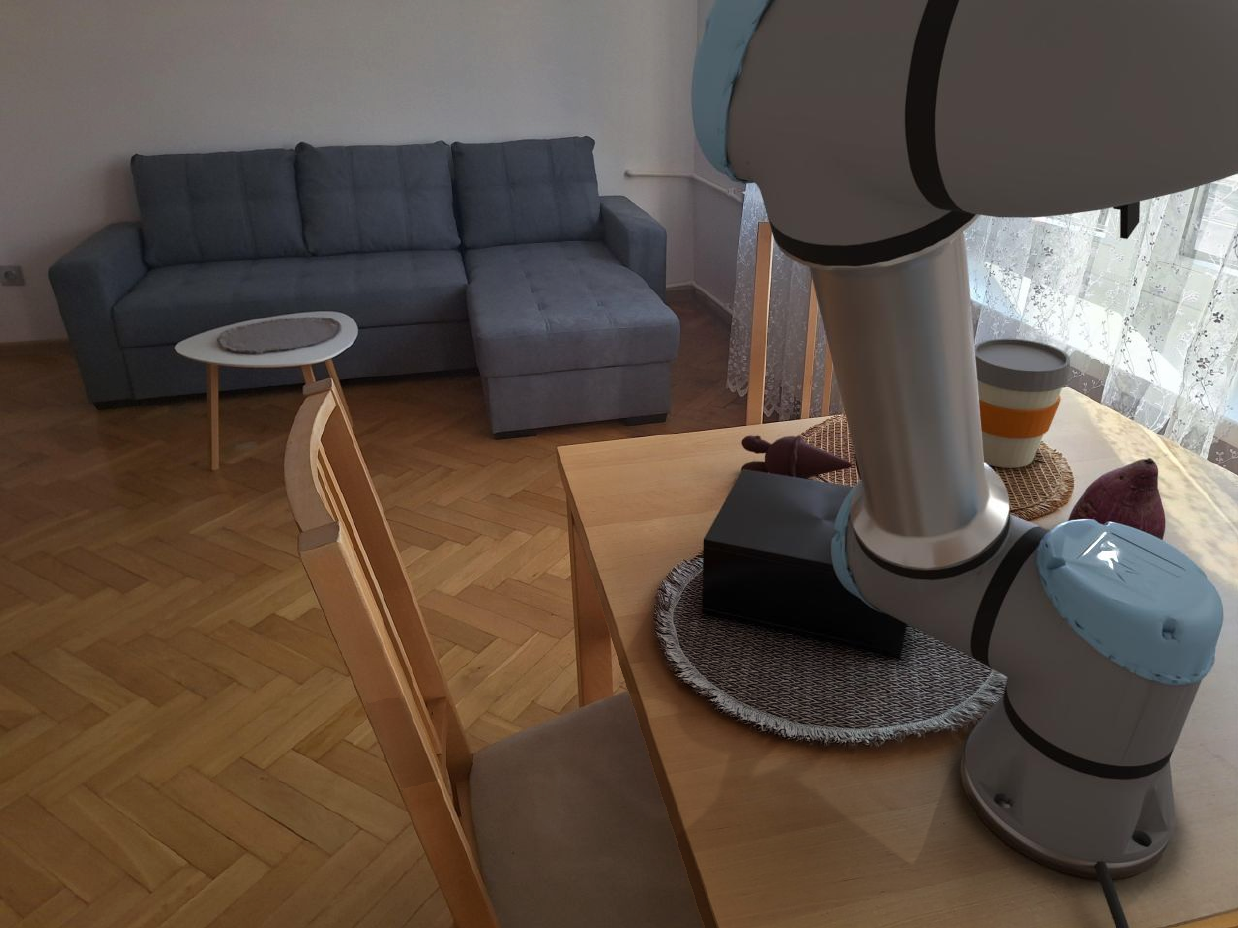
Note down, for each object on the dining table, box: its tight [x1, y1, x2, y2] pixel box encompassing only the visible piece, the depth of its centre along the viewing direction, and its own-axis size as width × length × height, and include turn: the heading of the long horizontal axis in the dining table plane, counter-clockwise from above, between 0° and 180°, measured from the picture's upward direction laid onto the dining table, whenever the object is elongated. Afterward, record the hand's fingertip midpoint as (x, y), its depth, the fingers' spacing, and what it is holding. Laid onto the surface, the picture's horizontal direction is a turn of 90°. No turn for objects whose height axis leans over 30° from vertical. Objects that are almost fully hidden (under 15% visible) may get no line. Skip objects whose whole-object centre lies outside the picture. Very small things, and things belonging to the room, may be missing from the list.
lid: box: [702, 469, 854, 572], centre depth 86 cm, size 21×16×9 cm
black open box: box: [701, 545, 908, 659], centre depth 90 cm, size 21×16×9 cm
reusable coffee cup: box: [974, 337, 1071, 469], centre depth 115 cm, size 12×13×15 cm
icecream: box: [740, 434, 853, 479], centre depth 112 cm, size 7×7×15 cm
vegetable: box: [1067, 457, 1166, 541], centre depth 93 cm, size 10×10×15 cm
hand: (1199, 241), depth 86 cm, fingers open, 13 cm apart
